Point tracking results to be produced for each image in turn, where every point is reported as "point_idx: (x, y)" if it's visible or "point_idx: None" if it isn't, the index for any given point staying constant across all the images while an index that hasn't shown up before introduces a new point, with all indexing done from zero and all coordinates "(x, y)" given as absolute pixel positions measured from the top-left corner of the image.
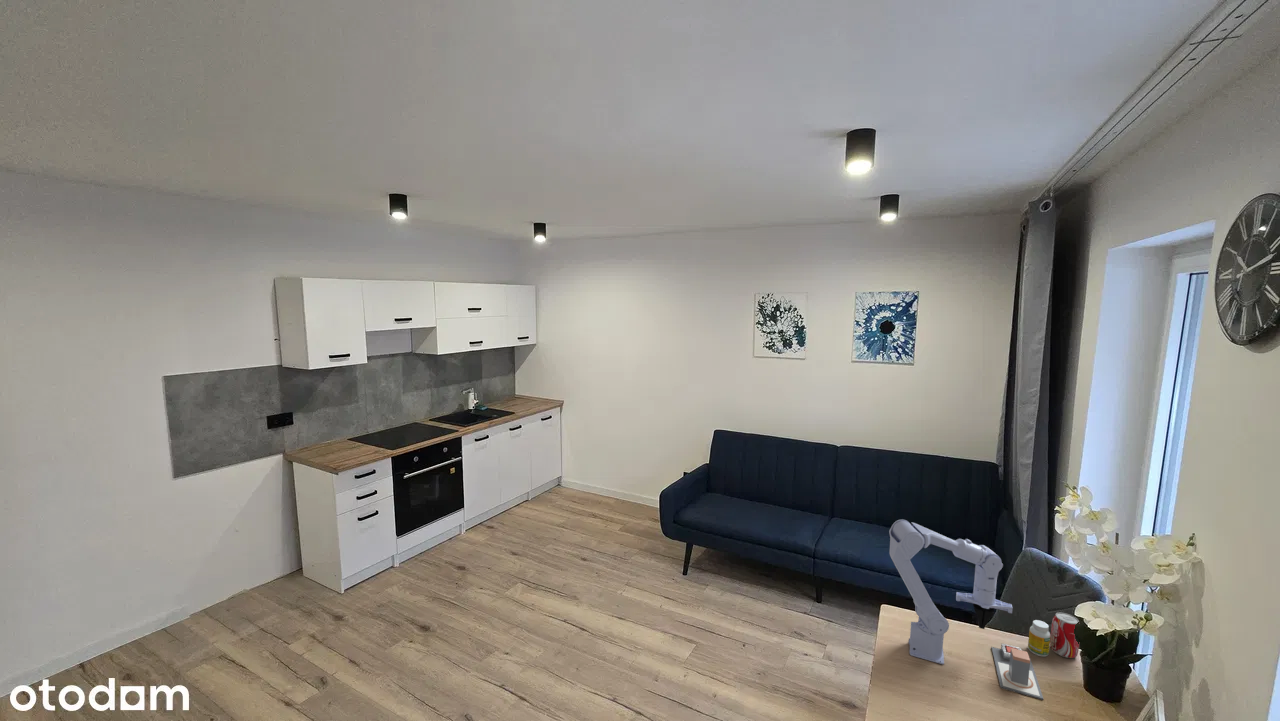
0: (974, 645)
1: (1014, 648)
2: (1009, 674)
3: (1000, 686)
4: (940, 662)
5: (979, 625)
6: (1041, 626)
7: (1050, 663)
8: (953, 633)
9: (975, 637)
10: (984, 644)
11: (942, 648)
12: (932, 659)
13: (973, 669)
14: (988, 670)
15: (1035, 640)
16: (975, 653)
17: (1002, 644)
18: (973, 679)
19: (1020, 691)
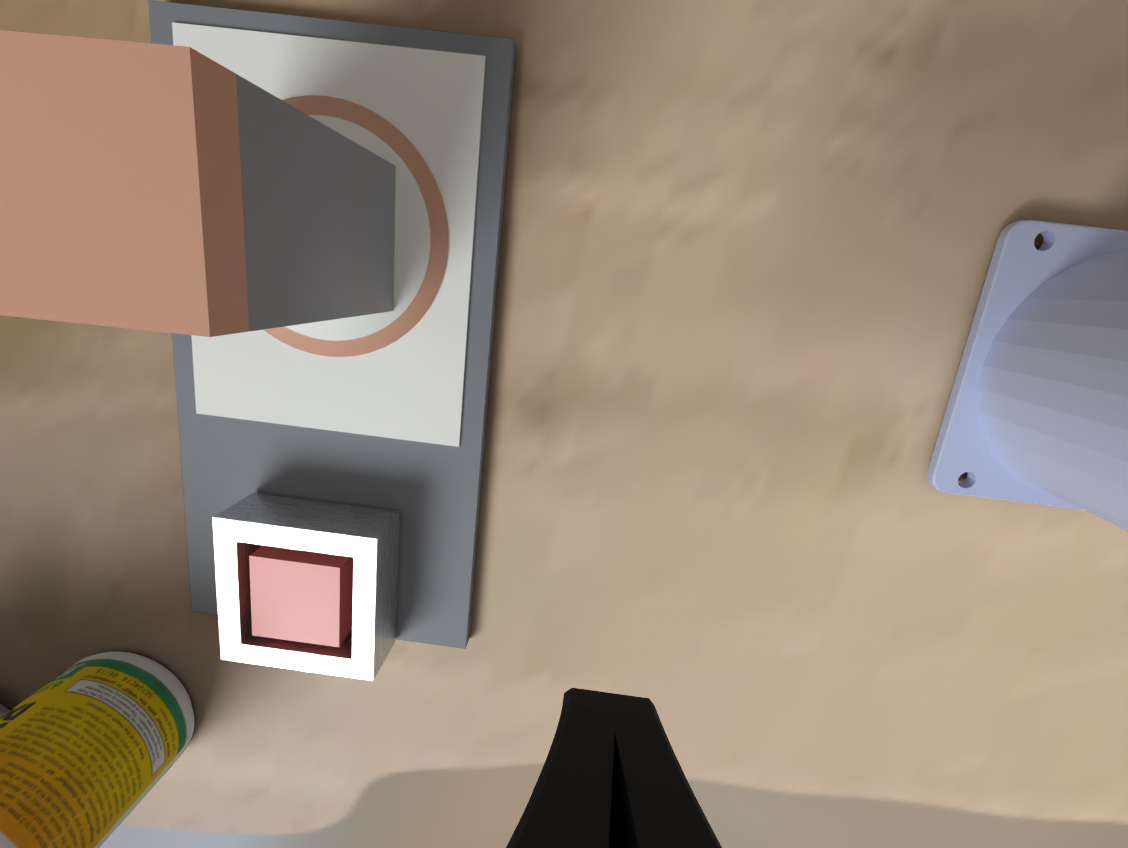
0: (601, 634)
1: (272, 634)
2: (390, 260)
3: (513, 43)
4: (1052, 222)
5: (665, 739)
6: None
7: (65, 586)
8: (737, 743)
9: None
10: (514, 671)
11: (1083, 345)
12: (1124, 249)
13: (705, 267)
14: (565, 306)
15: (42, 767)
16: (621, 526)
17: (368, 664)
18: (752, 87)
19: (337, 28)
